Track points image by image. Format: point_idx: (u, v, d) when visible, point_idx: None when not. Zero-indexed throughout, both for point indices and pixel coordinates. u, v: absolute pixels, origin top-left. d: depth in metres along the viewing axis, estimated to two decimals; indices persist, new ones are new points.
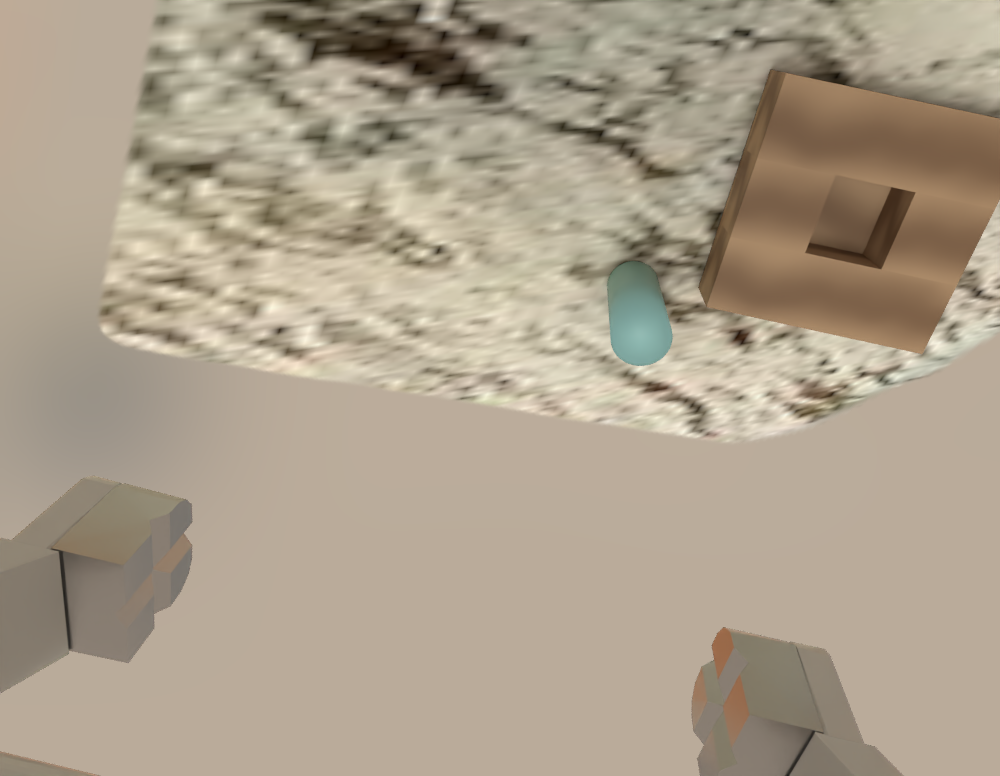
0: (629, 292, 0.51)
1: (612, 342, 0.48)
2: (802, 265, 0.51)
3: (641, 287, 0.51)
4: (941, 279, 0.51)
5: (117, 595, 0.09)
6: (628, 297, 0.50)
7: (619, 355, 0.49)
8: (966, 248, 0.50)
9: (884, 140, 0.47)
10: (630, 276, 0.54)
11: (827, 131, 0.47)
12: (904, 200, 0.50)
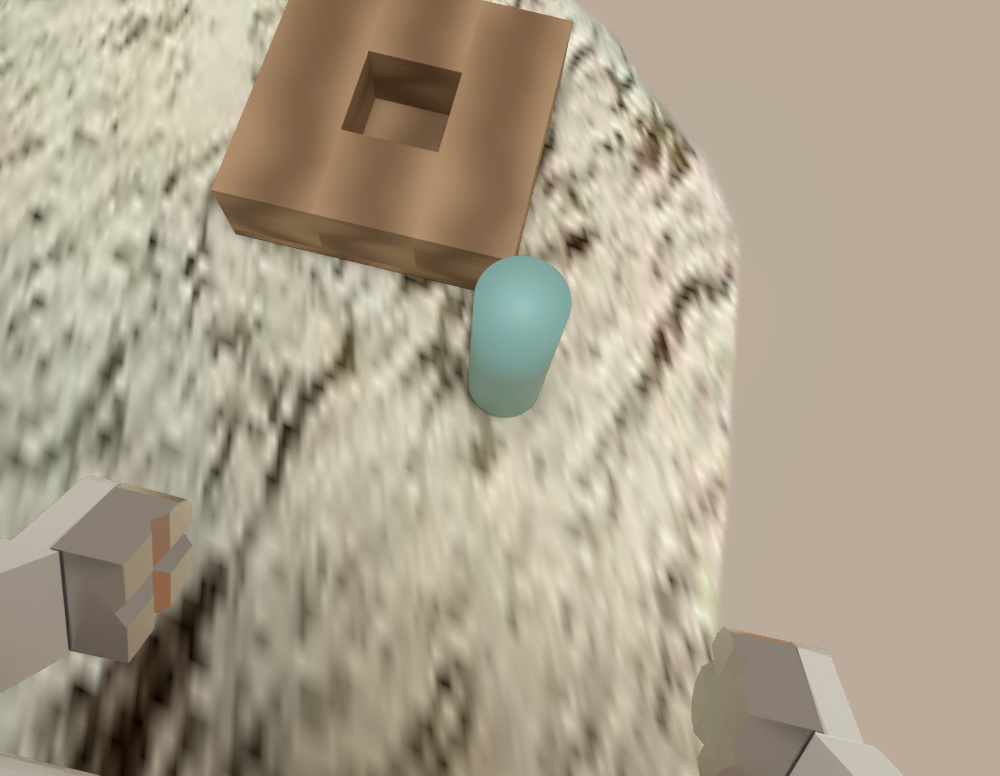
0: (473, 346, 0.33)
1: (531, 342, 0.29)
2: (454, 153, 0.39)
3: None
4: (475, 14, 0.42)
5: (117, 595, 0.09)
6: (475, 340, 0.32)
7: (554, 331, 0.29)
8: None
9: (303, 86, 0.40)
10: (470, 365, 0.36)
11: (286, 142, 0.39)
12: (383, 68, 0.42)
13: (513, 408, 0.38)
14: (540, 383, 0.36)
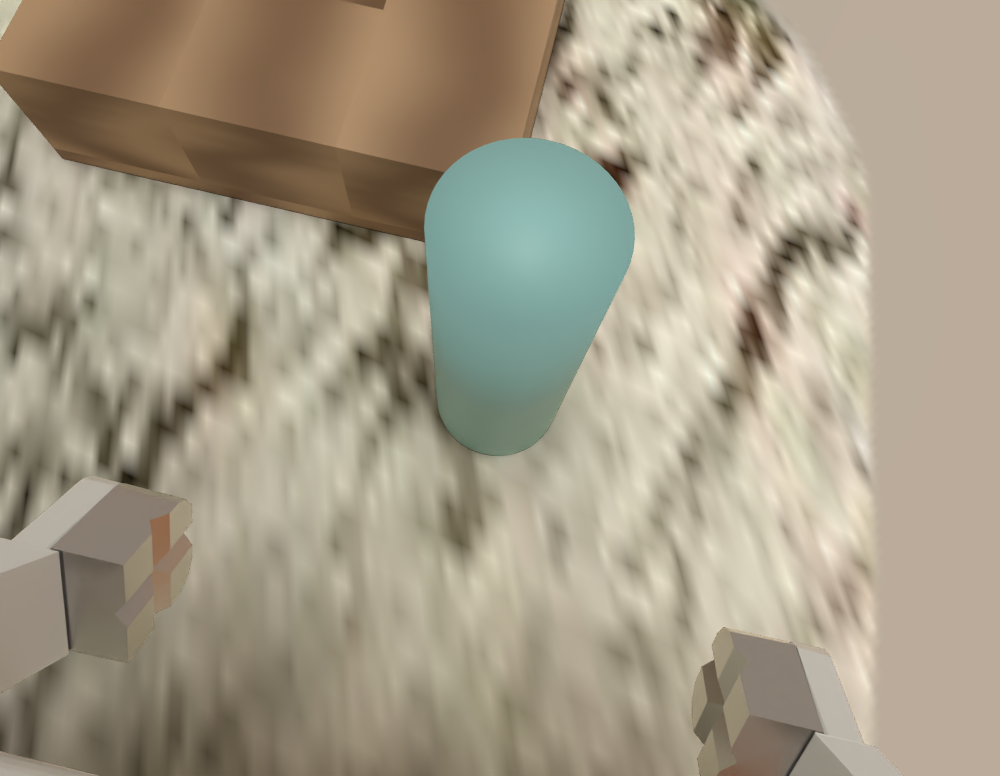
0: (434, 332, 0.17)
1: (550, 319, 0.13)
2: (411, 12, 0.23)
3: None
4: None
5: (118, 595, 0.09)
6: (435, 320, 0.16)
7: (601, 294, 0.13)
8: None
9: None
10: None
11: None
12: None
13: (512, 442, 0.22)
14: (560, 400, 0.20)
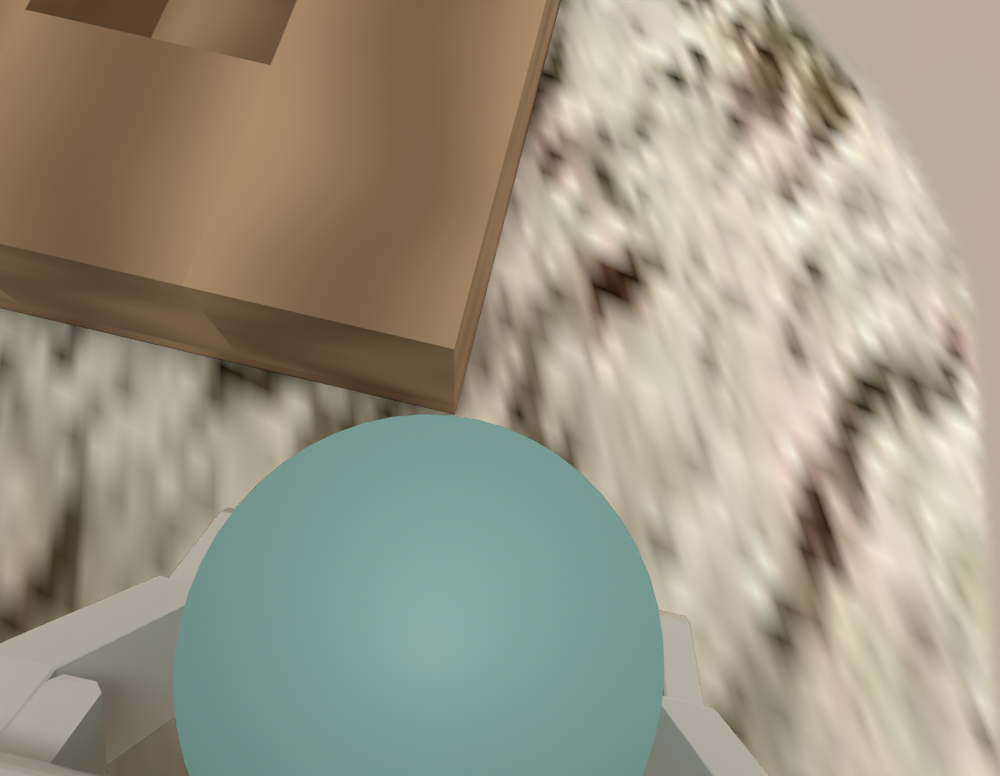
0: None
1: None
2: (313, 68, 0.15)
3: None
4: None
5: None
6: None
7: None
8: None
9: None
10: None
11: None
12: None
13: None
14: None
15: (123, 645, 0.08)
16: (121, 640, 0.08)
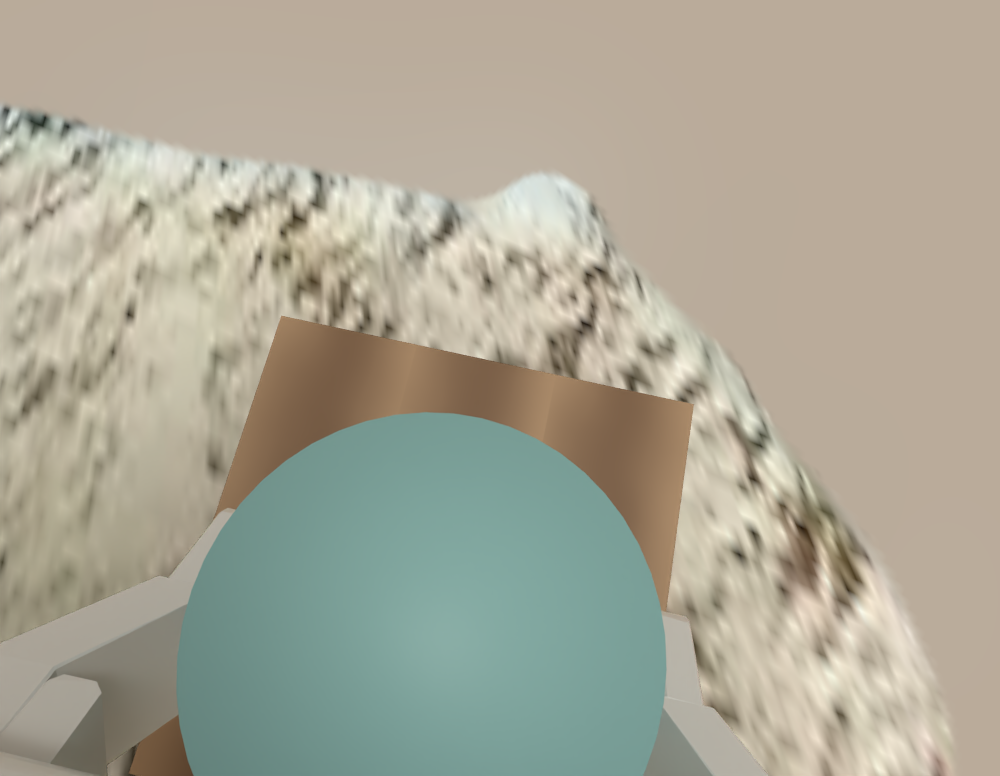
0: None
1: None
2: None
3: None
4: (544, 402, 0.27)
5: None
6: None
7: None
8: (486, 372, 0.28)
9: None
10: None
11: None
12: None
13: None
14: None
15: (123, 645, 0.08)
16: (121, 639, 0.08)
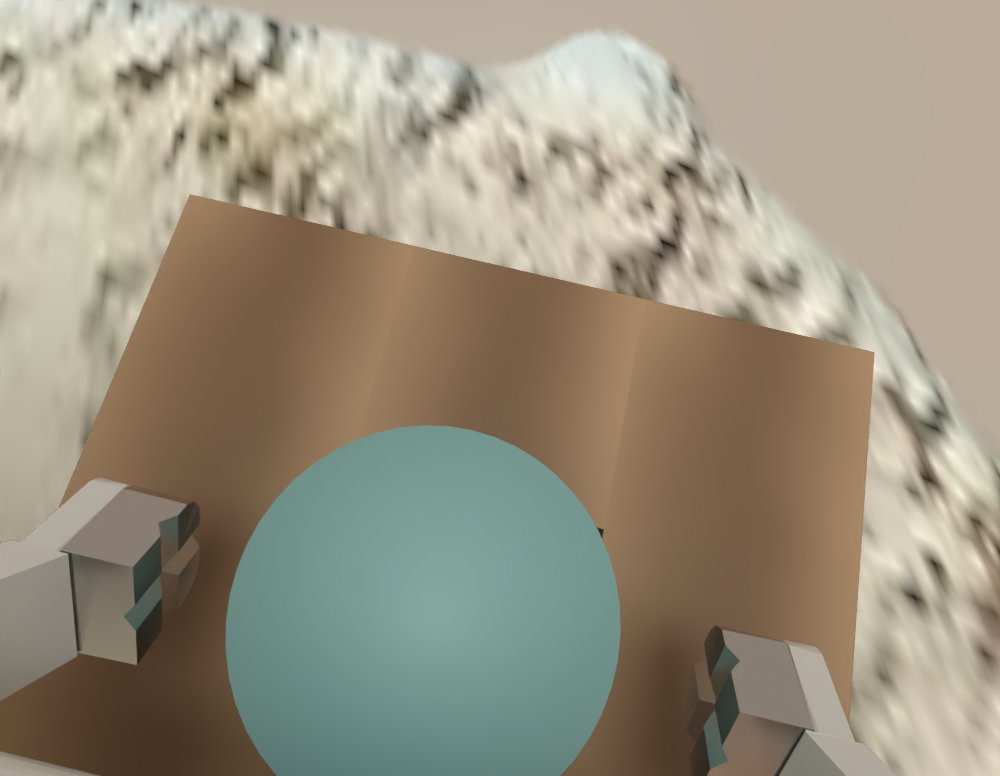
0: None
1: None
2: None
3: None
4: (628, 343, 0.16)
5: (126, 597, 0.09)
6: None
7: (555, 760, 0.07)
8: (529, 293, 0.16)
9: None
10: None
11: None
12: None
13: None
14: None
15: None
16: None
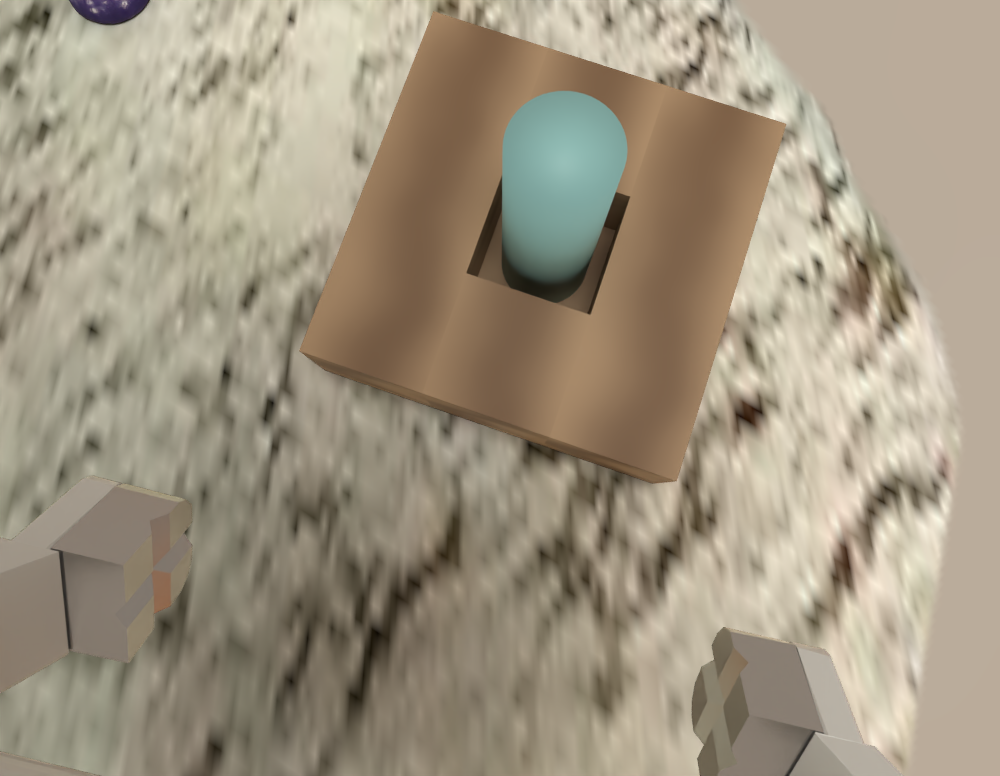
0: (503, 209, 0.27)
1: (570, 204, 0.23)
2: (612, 318, 0.30)
3: None
4: (655, 108, 0.31)
5: (117, 595, 0.09)
6: (504, 201, 0.26)
7: (602, 191, 0.23)
8: (606, 78, 0.31)
9: (422, 206, 0.31)
10: (502, 236, 0.30)
11: (396, 288, 0.30)
12: None
13: (550, 293, 0.32)
14: (584, 264, 0.30)
15: None
16: None
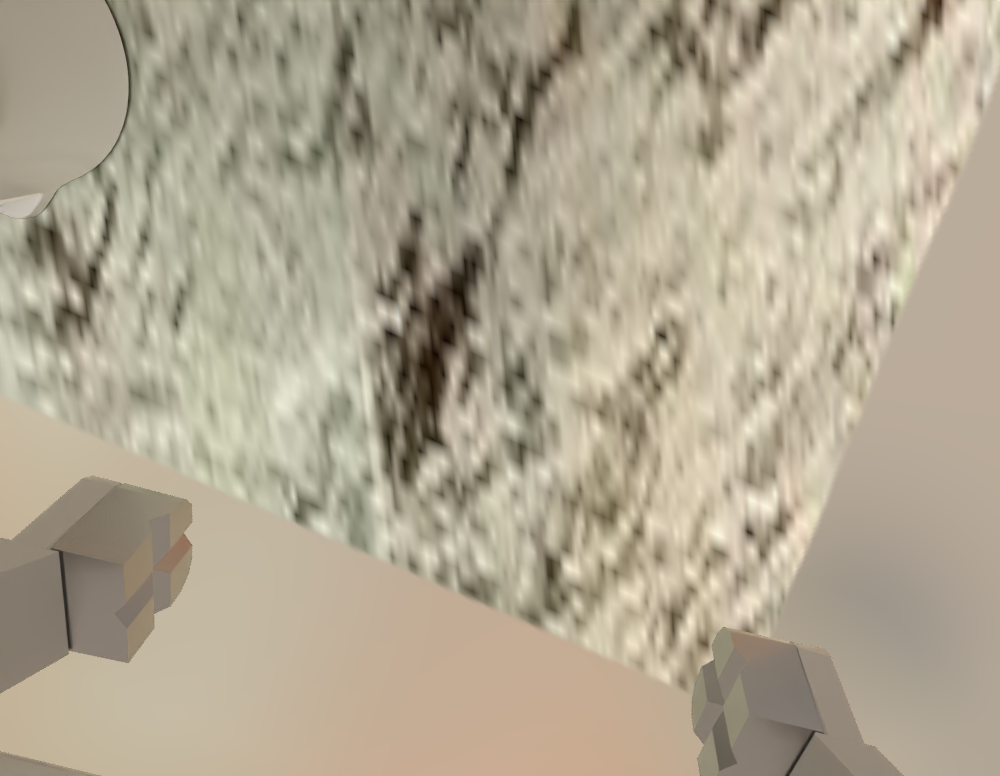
0: None
1: None
2: None
3: None
4: None
5: (117, 595, 0.09)
6: None
7: None
8: None
9: None
10: None
11: None
12: None
13: None
14: None
15: None
16: None
